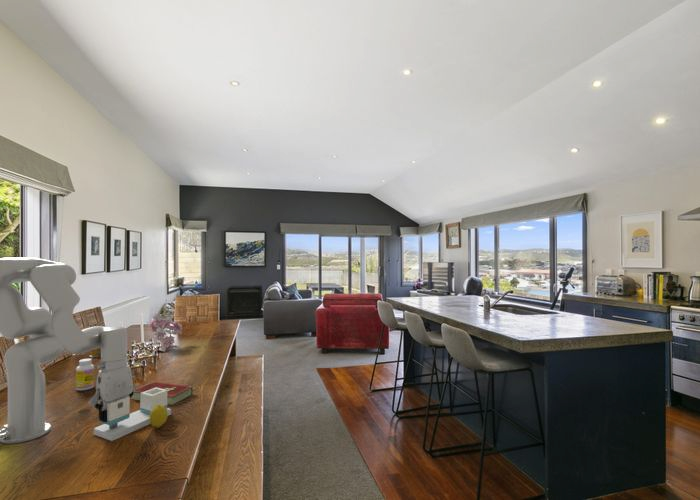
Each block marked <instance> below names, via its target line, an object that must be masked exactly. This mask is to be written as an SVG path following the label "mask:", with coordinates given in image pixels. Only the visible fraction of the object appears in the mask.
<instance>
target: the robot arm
mask: <svg viewBox="0 0 700 500" xmlns="http://www.w3.org/2000/svg"><path fill="white" fill-rule="evenodd" d="M76 280H77V273H76V271H75V269H74V268H73V267H72V266H71V265H69V264H66V263H63V262H57V261H52V260H48V259H42V258H37V257H2V258H0V335H1V336H2V337H3V338H4V339H8V340H15V339H20V338H25V337H28V336H29V337H30V338H29V339H24V340H22V341H19V342H17V343H15V344H13V345H12V346H10V347H9V348H8V349H7V350H6V351H5V353H4V356H3V363H4V367H5V371H6V376H7V377H6V378H7V421H6V422H7V423H6V424H3V428H1V429H0V442H1V443H3V444H19V443H20V444H21V443H25V442H28V441H32V440H35V439H37V438H40V437H43V436H44V435H46V434H47V433H49V432H50V430H51V428H52V427H51V426H52V425H51V424H50V423H48V422H46V375H45V373H44V371H43V370H42V368H41V365H44V364H46V363H49V362H52V361H54V360H55V359H57V358H59V357H60V356H61V355H62V354H63V351H64V349H65V350H66V351H67V352H68V353H70V354H73V355H83V354H86V353H88V352H91V350H94V349H97V348H100V347H101V356H100V363H99V364H97V366H96V368H97V370H99V371H98V374H97V378H96V386H95V393H94V395H93V396H92V397H91V398H90V399H89V401H88V404H89V405H90V406H92V407H94V408H95V409H97V410H98V421H99V420H100V421H102V422H107V410H106V406H107V403H108V402H110V401H113V400H115V399H118V398H121V397H124V396H125V397H130V401H131V400H132V399H131V398H132V395H133V394H134V392H135V390H136V389H137V388H138V385H136V384H134V382H133V373H132V369H131V367H130V364H128V331H127V328H126V327H124V326H113V327H111V326H110V327H109V326H108V327H107V326H103V325H102V326H101V325H96V326H95V325H94V326H91V327H87V328H83V329H81V327H80V326H79V325H78V323H77V322H76V320H75V318H74V310H75V307H76V306H78V304H79V303H80V301H81V297H80V296H79V295H78V293H77V292H76V290H75V289H74V288H73V287H72V285H73V284H74V283H75V282H76ZM26 282H30V283H31V285H32V287H33V288H34V290H36V292H37V294H38V295H39V296H40V297H41V298H42V299H41V300H43V302H44V303H45V304H46V305H47V306H48V308H49V309H50V311H51V312H50V311H49V310H48V309H47V308H44V307H40V306H32V307H28V306H27V304H26V302H25V298H24V297H23V295H22V293H20V291H19V290H18V289H17V288H16V287H15V286H13V284H15V283H26ZM97 401H98V402H97Z"/></svg>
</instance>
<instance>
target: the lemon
mask: <svg viewBox="0 0 700 500" xmlns="http://www.w3.org/2000/svg"><path fill="white" fill-rule="evenodd" d="M167 419H168V416H167V410H166V408H165V407H164V406H161V405H158V406H156V407H154V408H153V409H152V411H151V413H150V423H151V424H150V425H152V427H155V428H157V429H160V427H162V426H163V425H164V424H165V423H166V422H167Z"/></svg>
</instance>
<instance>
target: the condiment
mask: <svg viewBox="0 0 700 500" xmlns="http://www.w3.org/2000/svg"><path fill="white" fill-rule="evenodd" d="M90 352H91V353H90V354H91V355H89V357H91V358H99V357H101V347H100V348H97V349H94V350H91V351H90Z"/></svg>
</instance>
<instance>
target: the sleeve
mask: <svg viewBox="0 0 700 500" xmlns="http://www.w3.org/2000/svg"><path fill="white" fill-rule="evenodd" d="M130 401H131V400H130V397H125V396H124V397H121V398H118V399H115V400H113V401H110V402H108V403H107V406H106V410H107V422H102V421H100V420H99V419H98V423H101V424H107V425H110V426H111V425H113V424H116V423H118V422H120V421H123V420H125V419H128V418H129V417H130V414H131V411H130V407H131V406H130V403H131V402H130Z"/></svg>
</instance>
